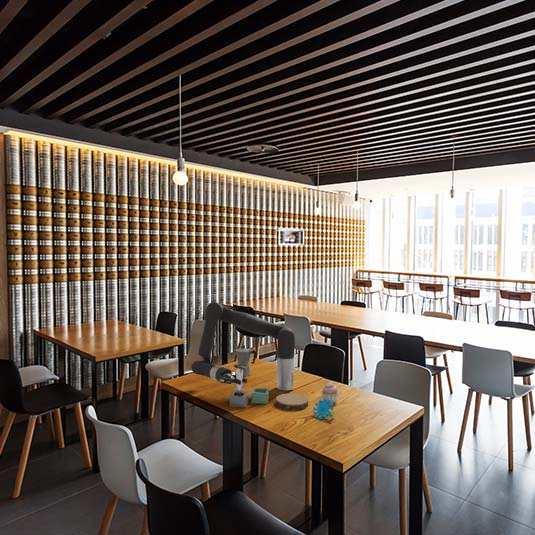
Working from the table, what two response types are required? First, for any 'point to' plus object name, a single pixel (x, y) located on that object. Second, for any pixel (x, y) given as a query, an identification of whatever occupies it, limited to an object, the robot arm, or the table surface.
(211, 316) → the robot arm
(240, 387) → the chuck key
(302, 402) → the wood slice
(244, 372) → the coffeepot
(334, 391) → the cupcake
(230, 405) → the chuck block
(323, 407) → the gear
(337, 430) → the table surface
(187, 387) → the table surface
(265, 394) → the key holder
